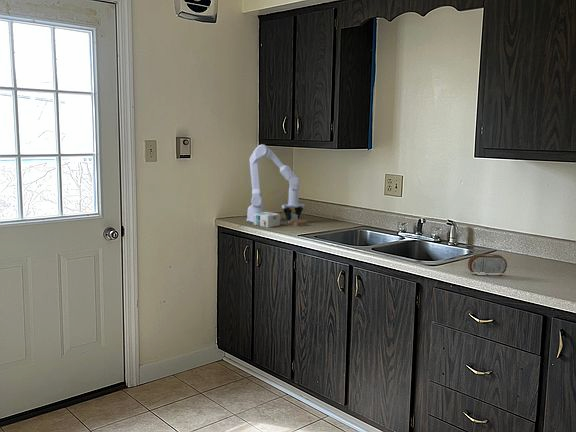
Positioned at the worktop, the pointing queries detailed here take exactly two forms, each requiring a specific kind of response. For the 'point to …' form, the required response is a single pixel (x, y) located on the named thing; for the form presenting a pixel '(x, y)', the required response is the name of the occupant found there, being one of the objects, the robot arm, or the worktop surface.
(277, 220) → the light bulb box
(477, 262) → the tin
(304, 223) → the walnut slab
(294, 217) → the blue block
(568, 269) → the worktop surface
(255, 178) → the robot arm
